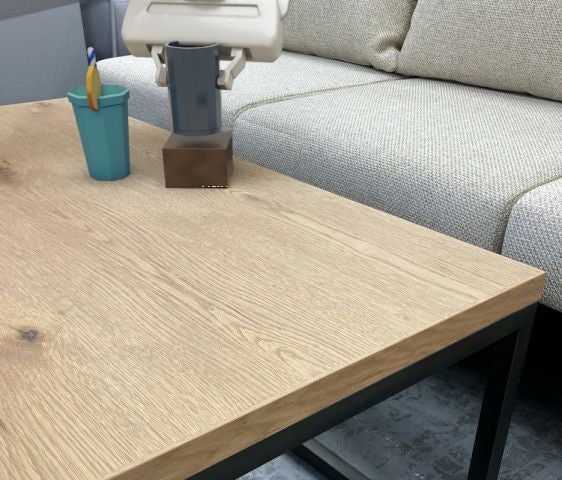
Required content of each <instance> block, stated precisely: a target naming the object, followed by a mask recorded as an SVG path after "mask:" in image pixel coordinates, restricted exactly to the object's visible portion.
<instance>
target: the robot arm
mask: <svg viewBox="0 0 562 480" xmlns="http://www.w3.org/2000/svg"><path fill="white" fill-rule="evenodd" d="M290 7H291V0H129V1H128V4H127V7H126V10H125V13H124V16H123V17H124V18H123V21H122V25H121V32H120V35H121V40H122V42H123V43H124V46H125V47H126V48H127V51H128V52H129V53H130V54H131V55H132V57H134V58H149V59H150V58H151V59H152V60H153V62H154V65H155V67H156V70H155V75H154V81H155V83H156V85H157V87H159V88H168V87H167V76H166V66H164V65H165V53H164V44H165V43H167V42H171V41H179V44H180V45H181V46H212V45H214V42H218V43H219V50H220V62H230V63H229V64H228V65H227V67H226V68H225V69H220V70H219V73H218V75H219V77H218V78H217V85H218V86H219V89H220V90H221V91H232V89H233V86H234V85H233V84H234V81H235V79H236V78H237V77H238V76H240V74H241V73H242V72H243V71H244V70H245V68H246V64H247V63H270V64H271V63H275V62H276V61H277V60H278V59H279V58H280V57H281V56H282V52H283V45H284V21H285V20H286V19H287V18H288V16H289V12H290Z"/></svg>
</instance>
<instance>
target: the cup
mask: <svg viewBox="0 0 562 480" xmlns="http://www.w3.org/2000/svg"><path fill="white" fill-rule="evenodd" d="M86 50H87V51H86V53H87V55H88V60H89V66H88V70H87V72H86V75H85V79H86V81H85V85H82V86H77V87H75V88H73V89H71V90H69V91H68V92H67V94H66V96H67V99H68V102H69V103H70V104H71V107H72V111H73V114H74V115H73V116H74V118H75V123H76V126H77V130H78V131H77V132H78V134H79V138H80V142H81V147H82V151H83V155H84V158H85V162H86V167H87V170H88V174H89V177H91V178H92V179H95V180H96V181H117V180H119V179H120V180H121V179H125V178H127V177H128V175H130V174H131V159H130V158H131V157H130V156H131V155H130V131H129V130H130V129H129V128H130V127H129V125H130V124H129V101H128V100H129V99H130V97H131V96H130V91H131V90H130V89H129V88H128V87H126V86H122V85H119V84H102V81H101V77H100V72H99V71H100V70H99V69H98V65H97V64H98V63H97V59H96V52H95V49H94V47H91V46H89V47H88V48H87V49H86Z"/></svg>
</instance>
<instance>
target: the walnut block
mask: <svg viewBox="0 0 562 480" xmlns="http://www.w3.org/2000/svg"><path fill="white" fill-rule="evenodd" d="M233 150H234V149H233V132H232V131H220V132H218V133H216V134H212V135H206V136H184V135H179V134H176V133H174V132H172V131H171V132H170V134H169V136H168V138H167V139H166V141H165V143H164V144H163V146H162V148H161V153H162V163H163V173H164V183H165V188H167V187H202V186H204V187H208V186H210V187H212V186H216V187H217V186H220V187H221V186H223V187H226V186H228V187H229V185H230V182H229V181H231V178H230V177H232V175H231V174H233V171H234V152H233ZM228 184H229V185H228Z"/></svg>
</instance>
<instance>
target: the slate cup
mask: <svg viewBox="0 0 562 480" xmlns="http://www.w3.org/2000/svg"><path fill="white" fill-rule="evenodd" d="M164 53H165V64H164V65H165V67H166V76H167V87H166V88H167V97H168V98H167V99H168V109H169V120H170V128H171V133H172V132H174V133H176V134H179V135H184V136H206V135H212V134H216V133H218V132H223V129H224V126H223V125H224V120H223V119H224V118H223V117H224V116H223V115H224V113H223V96H222V90H220V89H219V86H218V85H217V78H218V77H219V75H218V73H219V70H221V61H220V50H219V43H218V42H214V45H212V46H181V45H180V44H179V41H171V42H167V43H165V44H164Z"/></svg>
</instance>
